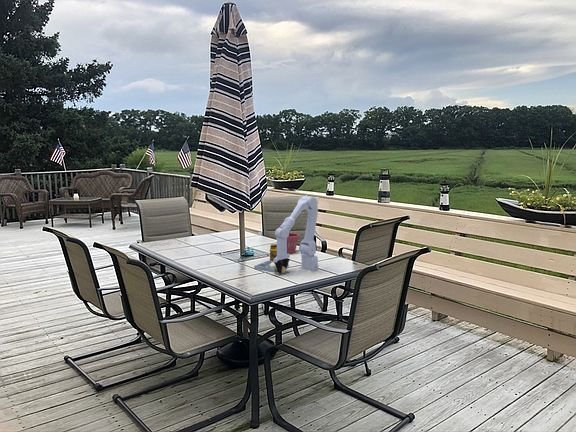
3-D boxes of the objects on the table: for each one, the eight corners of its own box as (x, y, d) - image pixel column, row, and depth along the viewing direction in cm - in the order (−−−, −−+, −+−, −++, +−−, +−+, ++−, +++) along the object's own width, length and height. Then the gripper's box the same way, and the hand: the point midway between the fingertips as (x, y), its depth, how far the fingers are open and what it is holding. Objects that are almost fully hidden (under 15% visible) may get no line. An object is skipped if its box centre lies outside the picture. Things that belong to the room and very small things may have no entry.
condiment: (276, 265, 292) (276, 246, 290) (265, 263, 296) (264, 244, 295) (282, 262, 298) (282, 244, 297) (271, 261, 303) (270, 242, 301)
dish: (289, 273, 272) (289, 272, 272) (283, 276, 267) (283, 274, 267) (280, 272, 275) (280, 270, 275) (274, 274, 270) (274, 273, 270)
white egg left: (278, 269, 278) (278, 262, 277) (274, 271, 274) (274, 263, 273) (272, 268, 280) (272, 261, 279) (267, 270, 276) (267, 262, 275)
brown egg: (287, 273, 272) (287, 265, 271) (283, 275, 268) (283, 267, 267) (280, 272, 274) (280, 264, 273) (276, 274, 270) (276, 266, 269)
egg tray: (288, 268, 284) (288, 263, 284) (275, 274, 272) (275, 269, 271) (268, 265, 292) (268, 260, 291) (254, 270, 279) (254, 265, 279)
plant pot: (303, 252, 325) (303, 234, 323) (287, 255, 316) (287, 237, 315) (290, 249, 336) (290, 231, 334) (274, 252, 328) (274, 234, 326)
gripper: (281, 252, 261) (281, 275, 263) (294, 247, 273) (294, 269, 275) (270, 250, 264) (270, 274, 266) (283, 245, 276) (283, 268, 278)
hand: (281, 271), depth 271 cm, fingers closed on brown egg, 5 cm apart
